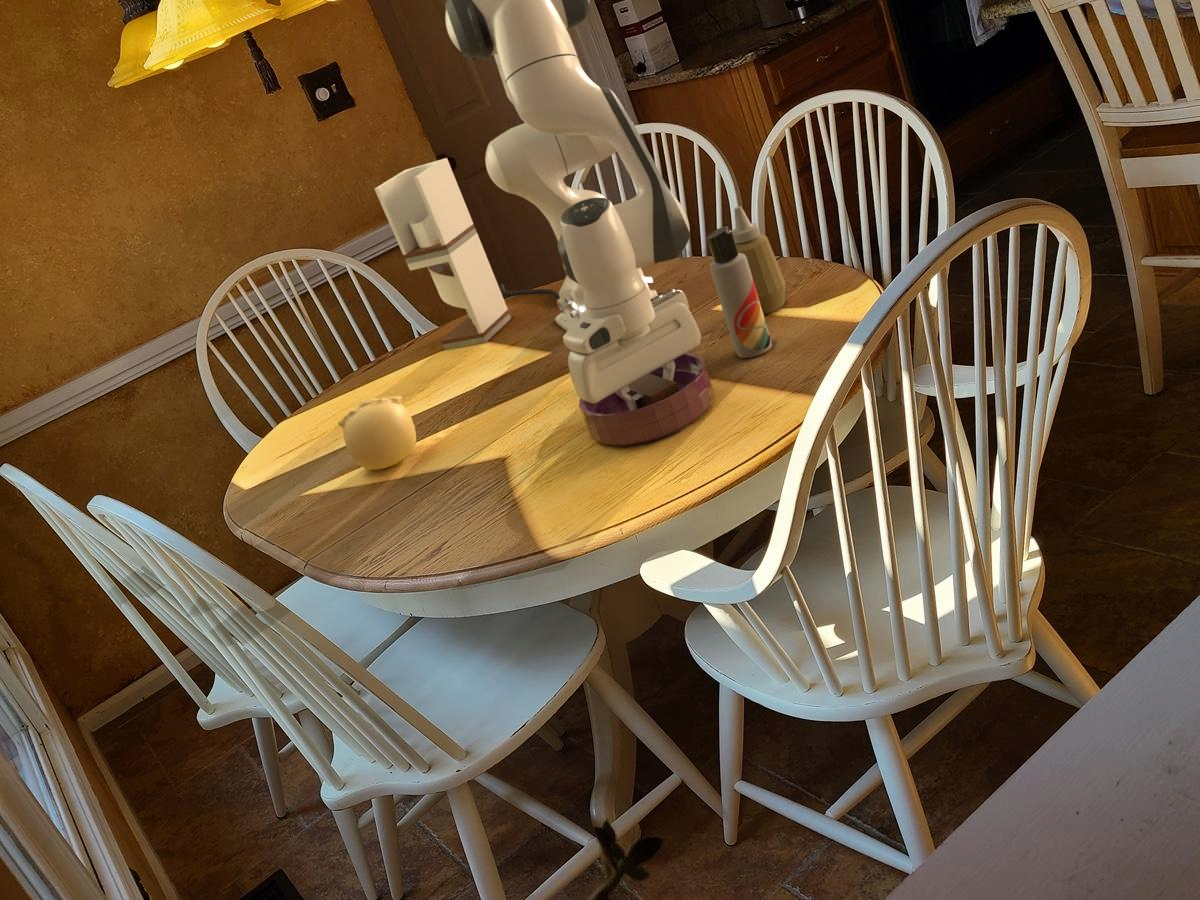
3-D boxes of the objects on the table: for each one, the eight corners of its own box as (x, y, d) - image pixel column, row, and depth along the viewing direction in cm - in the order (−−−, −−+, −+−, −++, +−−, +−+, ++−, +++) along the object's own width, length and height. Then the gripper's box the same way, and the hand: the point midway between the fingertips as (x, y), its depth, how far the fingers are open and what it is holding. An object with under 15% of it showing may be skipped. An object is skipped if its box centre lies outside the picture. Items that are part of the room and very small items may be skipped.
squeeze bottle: (792, 293, 189) (763, 193, 182) (789, 311, 182) (760, 208, 175) (746, 305, 192) (716, 206, 184) (742, 323, 185) (710, 221, 177)
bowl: (569, 432, 169) (557, 400, 167) (670, 375, 175) (659, 344, 173) (632, 461, 153) (619, 426, 150) (741, 397, 159) (730, 363, 157)
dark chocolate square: (629, 413, 165) (619, 385, 163) (653, 399, 166) (644, 371, 165) (660, 425, 157) (650, 396, 155) (686, 410, 159) (676, 381, 157)
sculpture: (421, 433, 190) (396, 378, 186) (426, 458, 179) (399, 400, 175) (358, 459, 190) (331, 404, 185) (359, 486, 179) (331, 428, 174)
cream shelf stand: (470, 326, 238) (404, 170, 224) (511, 318, 233) (446, 157, 219) (444, 349, 229) (374, 188, 215) (486, 342, 224) (417, 176, 210)
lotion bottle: (774, 351, 170) (738, 228, 162) (738, 362, 170) (700, 241, 162) (770, 338, 175) (734, 219, 167) (735, 349, 176) (698, 231, 167)
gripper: (669, 281, 162) (697, 365, 167) (552, 342, 155) (585, 428, 160) (693, 285, 156) (721, 372, 162) (572, 349, 150) (606, 437, 155)
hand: (652, 400), depth 161 cm, fingers closed on dark chocolate square, 4 cm apart
